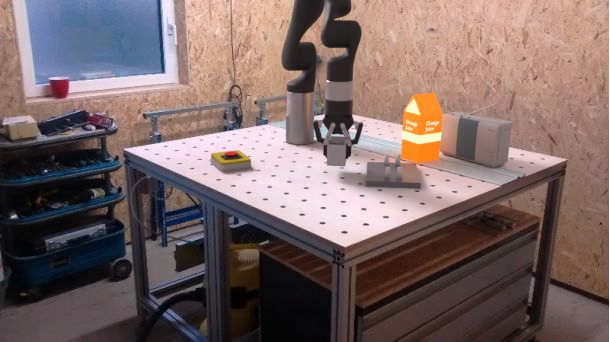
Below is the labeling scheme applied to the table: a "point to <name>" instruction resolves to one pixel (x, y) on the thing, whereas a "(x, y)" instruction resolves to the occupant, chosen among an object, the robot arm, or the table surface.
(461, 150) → the stereo radio cassette player
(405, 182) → the pin tray
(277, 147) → the table surface
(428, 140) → the orange juice
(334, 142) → the grey boxy piece
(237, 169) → the emergency button
